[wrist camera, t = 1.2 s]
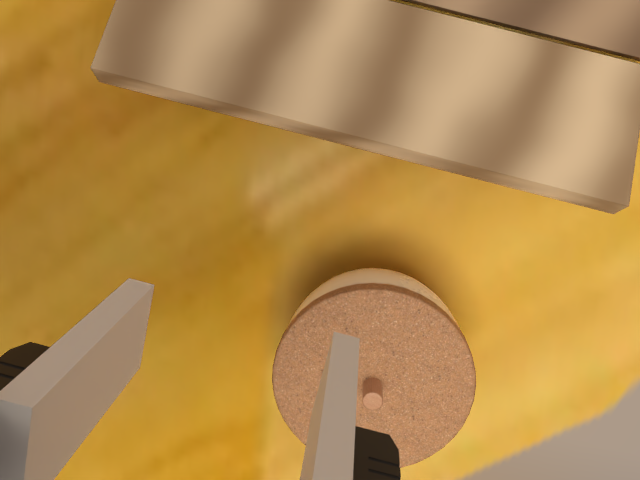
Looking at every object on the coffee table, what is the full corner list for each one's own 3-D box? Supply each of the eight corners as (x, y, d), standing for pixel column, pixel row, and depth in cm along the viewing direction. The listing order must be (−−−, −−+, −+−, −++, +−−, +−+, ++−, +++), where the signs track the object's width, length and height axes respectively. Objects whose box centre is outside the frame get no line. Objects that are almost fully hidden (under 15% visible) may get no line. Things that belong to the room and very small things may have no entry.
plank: (99, 81, 32) (90, 67, 31) (146, -44, 34) (139, -63, 33) (613, 213, 32) (628, 206, 31) (633, 79, 34) (648, 66, 33)
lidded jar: (334, 216, 38) (323, 264, 29) (488, 291, 38) (523, 362, 29) (263, 355, 41) (233, 437, 32) (406, 423, 41) (416, 523, 32)
